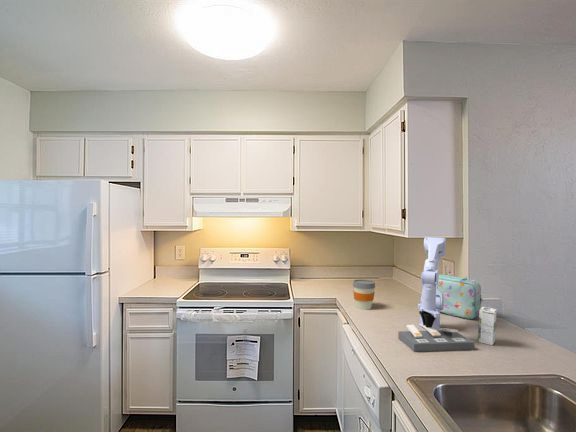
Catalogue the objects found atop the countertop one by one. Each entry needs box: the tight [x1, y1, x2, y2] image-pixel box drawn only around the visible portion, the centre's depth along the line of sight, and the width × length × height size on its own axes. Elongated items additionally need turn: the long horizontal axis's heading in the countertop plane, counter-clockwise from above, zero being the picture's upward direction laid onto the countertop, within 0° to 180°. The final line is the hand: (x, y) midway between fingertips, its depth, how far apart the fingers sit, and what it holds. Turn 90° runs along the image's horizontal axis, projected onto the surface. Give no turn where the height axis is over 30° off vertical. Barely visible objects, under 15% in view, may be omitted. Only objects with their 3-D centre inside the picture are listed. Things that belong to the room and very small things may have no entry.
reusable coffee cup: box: [352, 279, 376, 311], centre depth 194 cm, size 13×13×15 cm
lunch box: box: [436, 274, 484, 320], centre depth 184 cm, size 27×10×21 cm, turn 43°
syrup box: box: [477, 306, 498, 346], centre depth 145 cm, size 6×6×14 cm
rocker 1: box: [406, 324, 423, 338], centre depth 144 cm, size 8×3×1 cm, turn 7°
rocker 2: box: [440, 327, 459, 333], centre depth 146 cm, size 8×3×1 cm, turn 7°
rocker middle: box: [424, 325, 441, 336], centre depth 145 cm, size 8×3×1 cm, turn 7°
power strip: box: [397, 330, 475, 353], centre depth 142 cm, size 14×26×4 cm, turn 97°
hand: (427, 328), depth 148 cm, fingers closed, pressing on rocker middle
